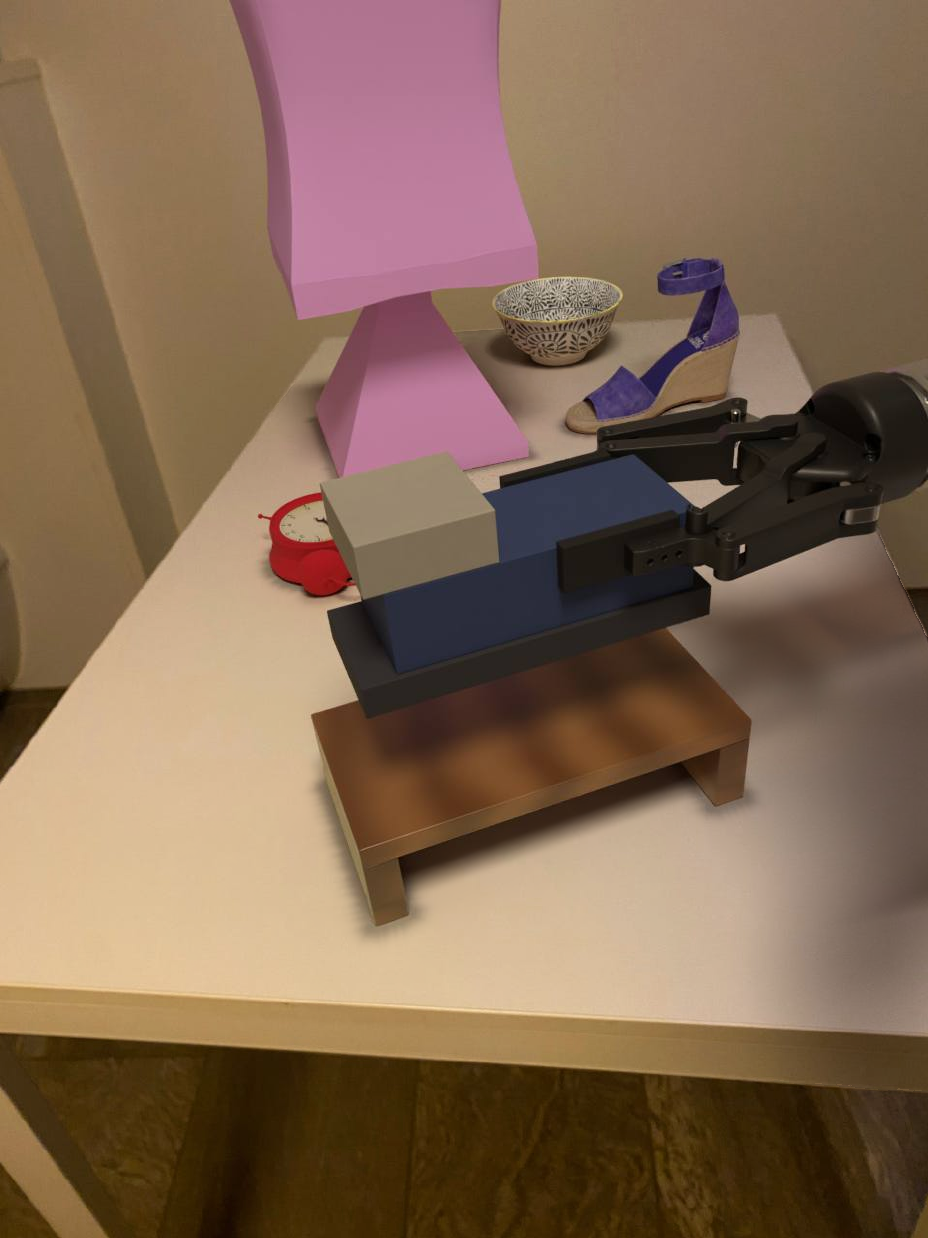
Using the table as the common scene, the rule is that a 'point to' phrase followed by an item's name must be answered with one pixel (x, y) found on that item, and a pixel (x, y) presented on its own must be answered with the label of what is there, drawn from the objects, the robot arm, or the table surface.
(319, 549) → the alarm clock
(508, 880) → the table surface
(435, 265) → the pink table lamp
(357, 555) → the stacked block toy
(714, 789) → the low wooden table
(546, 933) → the table surface
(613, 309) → the bowl
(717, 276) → the sandal
